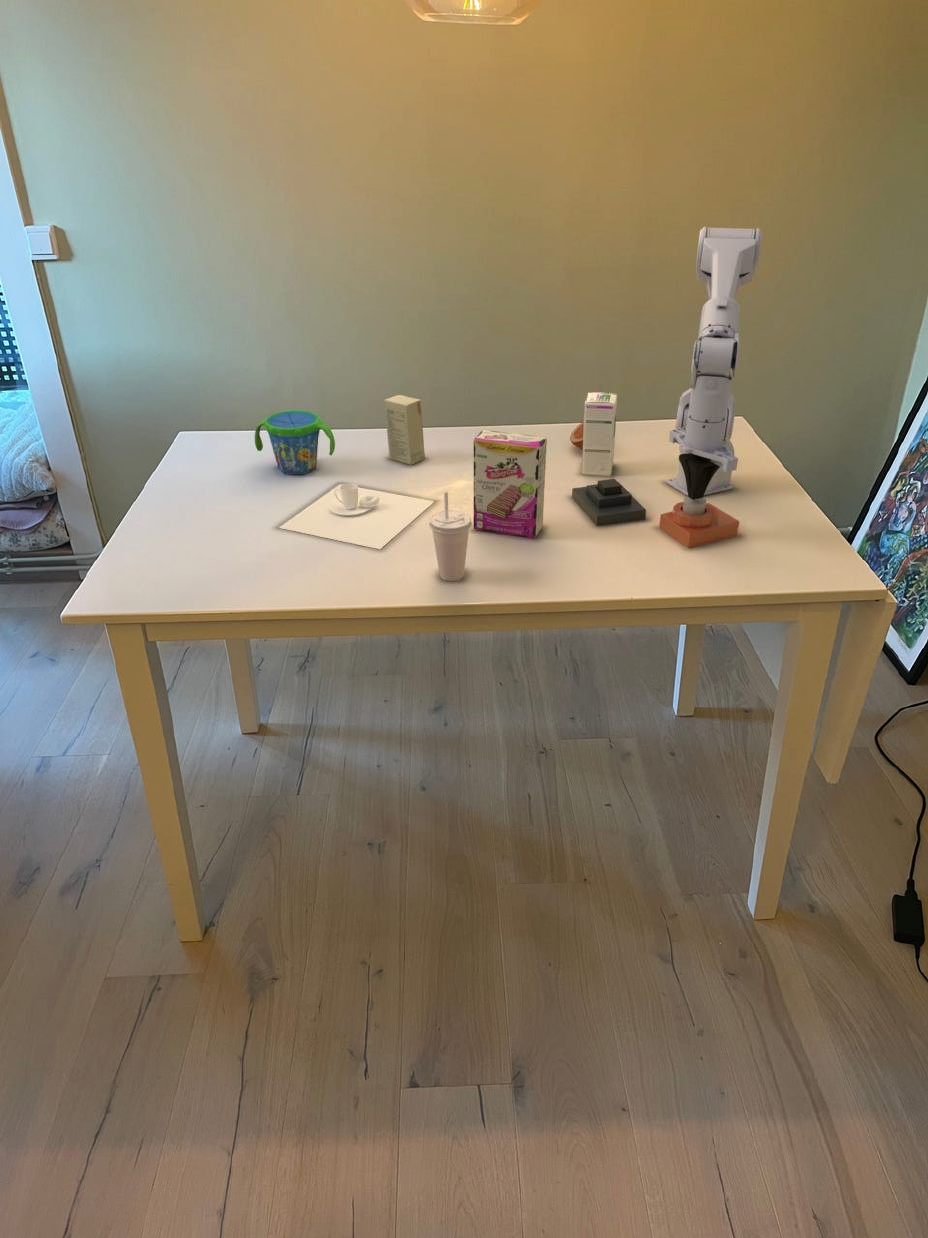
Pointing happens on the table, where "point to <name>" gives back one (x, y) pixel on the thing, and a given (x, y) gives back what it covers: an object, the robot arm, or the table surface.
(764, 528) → the table surface
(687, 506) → the gray push button
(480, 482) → the candy bar box
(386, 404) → the cosmetic box
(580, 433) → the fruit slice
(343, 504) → the teacup and saucer
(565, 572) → the table surface
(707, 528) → the orange knob plate
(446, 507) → the smoothie
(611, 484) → the dark top block
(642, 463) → the table surface
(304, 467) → the snack cup
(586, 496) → the dark gray socket plate
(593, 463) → the syrup box
